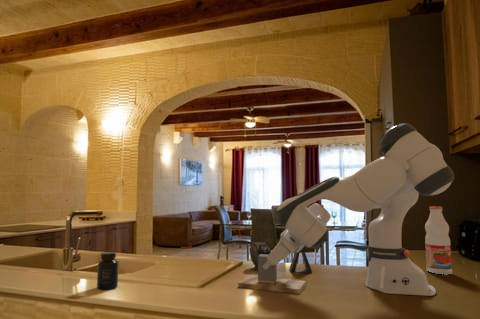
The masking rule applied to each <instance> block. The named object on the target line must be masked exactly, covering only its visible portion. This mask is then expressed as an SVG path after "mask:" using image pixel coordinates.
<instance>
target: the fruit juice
mask: <svg viewBox="0 0 480 319" xmlns="http://www.w3.org/2000/svg"><path fill="white" fill-rule="evenodd" d="M443 209H444V208H443V206H435V205H433V206H429V211H430V212H429V216H428V219H427V220H426V222H425V224H424V229H425V230H424V231H425V232H426V234H425V238H424V239H425V241H424V245H425V263H426V265H425V266H426V272H427V271H429V272H432V273H436V274H442V275H441V276H449V275H448V274H451V275H453V269H452V268H453V262H452V248H451V246H452V244H451V239H450V237H449V233H450V226H449V224H448V222H447V221H446V219H445V217H444V215H443ZM436 274H435V275H436ZM443 274H444V275H443Z"/></svg>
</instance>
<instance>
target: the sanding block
mask: <svg viewBox="0 0 480 319" xmlns="http://www.w3.org/2000/svg"><path fill="white" fill-rule="evenodd" d="M267 257H268V255H267V254H260V255H259V256H258V270H257V276H258V282H267V283H275V282H276V280H277V278H278V275H277V274H278V273H277V272H278V268H277V266H278V265H277V264H278V263H277V264H276V265H274V266H273V265H271V266H269V267H268V268H267V269H266V270H265V269H264V268H263V265H264V264H265V263H266V262H267Z"/></svg>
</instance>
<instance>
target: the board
mask: <svg viewBox="0 0 480 319" xmlns="http://www.w3.org/2000/svg"><path fill="white" fill-rule="evenodd" d="M237 284H238V285H237V288H243V289H251V290H262V291H269V292H277V291H278V292H280V293H288V294H297V295H298V294H299V295H300V294H301V293H302V291H303V290H304V289H305V288H306V286H307V285H308V284H307V280H300V279H289V278H278V277H277V280H276V282H275V283H267V282H258V275H248V276H247V277H245V278H244V279H242V280H240V281H239V282H237ZM278 292H277V293H278Z"/></svg>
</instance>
